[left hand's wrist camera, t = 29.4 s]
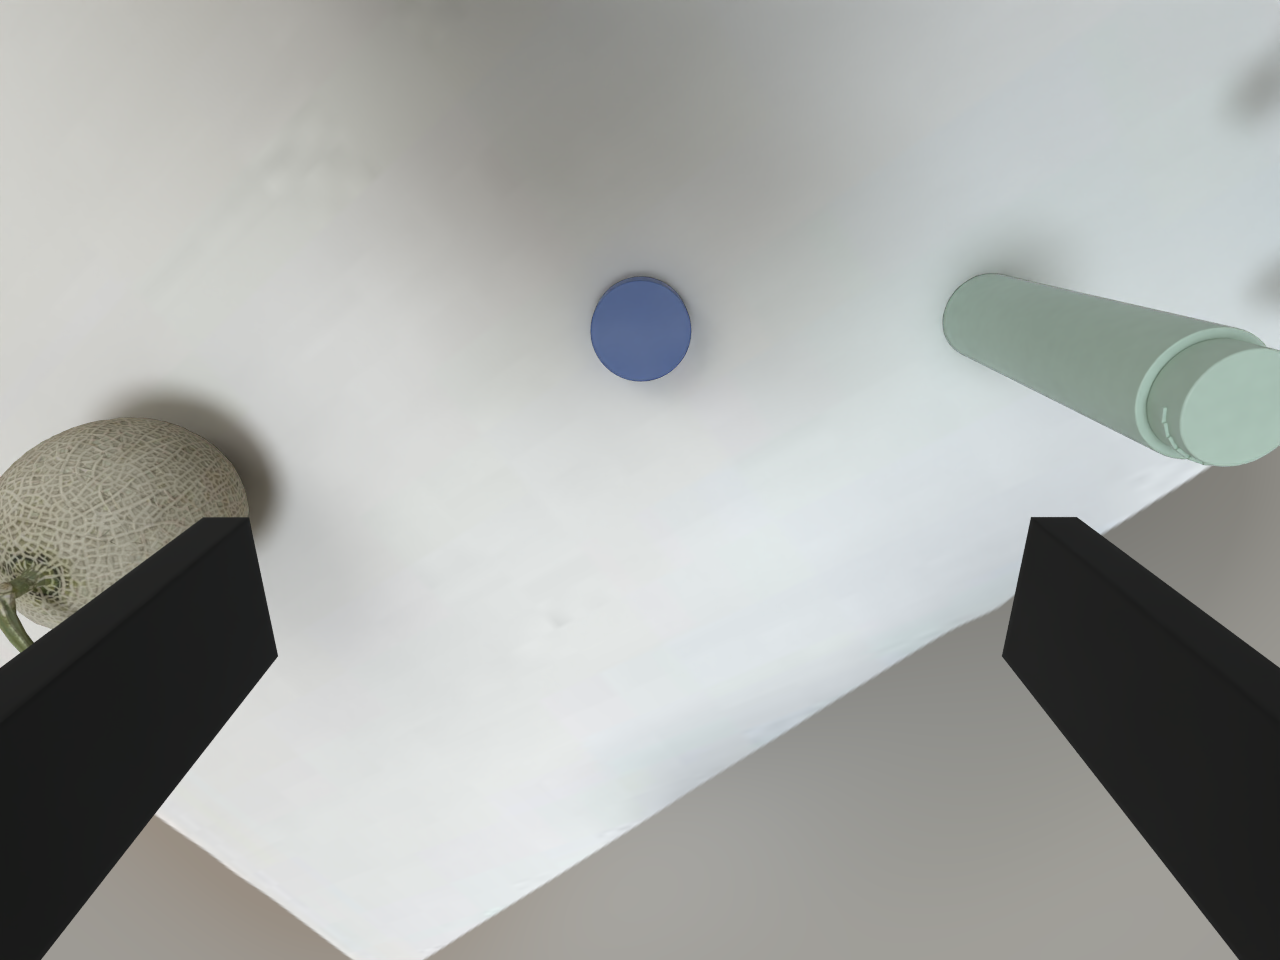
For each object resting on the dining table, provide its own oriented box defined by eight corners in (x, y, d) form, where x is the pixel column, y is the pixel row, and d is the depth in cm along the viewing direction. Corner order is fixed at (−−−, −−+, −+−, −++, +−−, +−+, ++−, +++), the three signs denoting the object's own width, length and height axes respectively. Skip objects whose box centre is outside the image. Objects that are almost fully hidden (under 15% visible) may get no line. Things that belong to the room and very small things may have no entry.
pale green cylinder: (944, 364, 41) (1165, 489, 24) (940, 283, 39) (1173, 352, 22) (1027, 348, 40) (1311, 462, 23) (1026, 265, 39) (1330, 322, 22)
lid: (700, 291, 39) (703, 295, 37) (674, 383, 41) (675, 392, 39) (605, 265, 39) (604, 268, 37) (583, 359, 41) (580, 367, 39)
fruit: (76, 373, 41) (-219, 467, 27) (288, 418, 42) (111, 532, 28) (84, 540, 44) (-171, 700, 30) (279, 578, 45) (118, 750, 31)
